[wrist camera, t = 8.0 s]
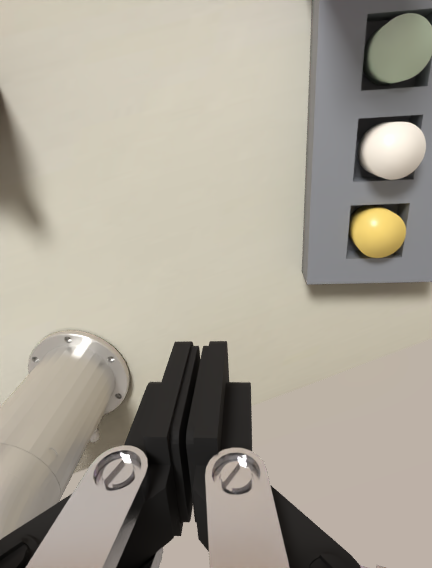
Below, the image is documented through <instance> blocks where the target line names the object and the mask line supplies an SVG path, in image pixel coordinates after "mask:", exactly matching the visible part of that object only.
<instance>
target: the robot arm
mask: <svg viewBox="0 0 432 568" xmlns="http://www.w3.org/2000/svg"><path fill="white" fill-rule="evenodd" d="M28 371H29V375H28V376H27V377H26V378H25V379H24V380H23V382H22V383H21V384H20V385H19V386H18V387H17V388H16V390H15V391H14V392H13V393H12V394H11V395H10V396H9V398H8V399H7V400H6V401H5V402H4V403H3V404H2V406H1V407H0V568H159V565H160V562H161V559H162V553H163V546H164V545H166V544H167V543H168V542H169V541H171V540H172V539H173V537H174V536H181V533H182V526H183V522H190V519H191V512H192V506H193V507H194V516H195V522H197V528H198V537H199V540H200V541H201V543H202V544H203V545H204V546H205V547H206V549H207V550H208V551H209V560H210V568H367V567H364V566H360V565H359V564H358V563H357V561H356V560H355V559H354V558H353V557H352V556H351V555H350V554H349V553H348V552H347V551H346V550H344V549H343V548H342V547H341V546H340V545H339V544H338V543H336V542H335V541H334V540H333V539H332V538H331V537H330V536H328V535H327V534H326V533H325V532H324V531H323V530H321V529H320V528H319V527H318V526H317V525H316V524H315V523H313V522H312V521H311V520H310V519H309V518H308V517H306V516H305V515H304V514H303V513H302V512H301V511H299V510H298V509H297V508H296V507H295V506H294V505H293V504H292V503H290V502H289V501H288V500H287V499H286V498H285V497H283V496H282V495H281V494H280V493H279V492H278V491H277V490H275V489H274V488H273V487H272V486H271V485H270V481H269V477H268V473H267V469H266V466H265V464H264V462H263V460H262V459H261V458H260V457H259V456H258V455H257V454H255V453H254V452H252V422H251V383H241V382H229V369H228V350H227V341H210V343H209V346H203V350H202V355H201V360H200V351H199V346H193V342H175V343H174V346H173V349H172V352H171V355H170V358H169V361H168V364H167V367H166V370H165V373H164V376H163V379H162V382H150V383H148V385H147V387H146V390H145V393H144V395H143V398H142V400H141V403H140V406H139V408H138V411H137V413H136V416H135V419H134V421H133V424H132V426H131V429H130V432H129V434H128V437H127V439H126V442H125V445H122V446H118V447H113V448H111V449H109V450H107V451H105V452H103V453H102V454H101V455H99V456H98V457H97V458H96V459H95V460H94V461H93V463H92V464H91V465H90V467H89V468H88V470H87V472H86V473H85V475H84V476H83V478H82V479H81V481H80V482H79V484H78V486H77V487H76V489H75V491H74V492H73V493H72V494H71V495H70V496H68V497H66V498H65V499H63V500H62V501H60V502H59V500H60V498H61V496H62V494H63V492H64V490H65V488H66V486H67V484H68V482H69V480H70V478H71V476H72V474H73V472H74V470H75V468H76V466H77V464H78V462H79V460H80V458H81V456H82V454H83V452H84V450H85V448H86V446H87V444H88V442H89V441H90V442H95V441H97V440H98V439H99V438H100V435H99V431H98V428H97V427H98V425H99V423H100V421H101V419H102V417H103V415H104V414H107V413H109V412H111V411H113V410H114V409H116V408H117V407H118V406H119V405H120V404H121V403H122V401H123V400H124V398H125V396H126V394H127V392H128V388H129V383H130V376H129V371H128V368H127V365H126V363H125V361H124V359H123V358H122V356H121V355H120V353H119V352H118V351H117V350H116V349H115V348H114V347H113V346H111V345H110V344H109V343H108V342H106V341H105V340H103V339H101V338H99V337H98V336H95V335H92V334H90V333H87V332H82V331H75V330H66V331H59V332H56V333H53V334H50V335H49V336H47V337H45V338H44V339H42V340H41V341H40V342H39V343H38V344H37V345H36V347H35V348H34V349H33V351H32V352H31V355H30V357H29V363H28ZM376 568H386V567H382V566H379V565H377V566H376Z"/></svg>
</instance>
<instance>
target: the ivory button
mask: <svg viewBox="0 0 432 568" xmlns="http://www.w3.org/2000/svg"><path fill="white" fill-rule="evenodd" d="M425 151H426V140H425V137H424V134H423V132H422V131H421V130H420V129H419V128H418V127H417V126H416V125H414V124H412V123H409V122H383V123H379V124H377V125H375V126H373V127H371V128H370V129H369V130H368V131H367V132H366V133H365V134H364V135H363V136H362V138H361V140H360V142H359V145H358V150H357V155H358V160H359V163H360V165H361V166H362V167H363V169H365V170H366V171H367V172H369V173H371V174H374V175H376V176H379V177H382V178H385V179H389V180H395V179H400V178H403V177H405V176H407V175H409V174H411V173H412V172H413V171H414V170H415V169H416V168H417V167H418V166H419V165H420V163H421V162H422V160H423V158H424V155H425Z"/></svg>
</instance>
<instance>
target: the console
mask: <svg viewBox="0 0 432 568" xmlns="http://www.w3.org/2000/svg"><path fill="white" fill-rule="evenodd" d="M407 13H414V14H419V15H421V16H423V17H424V18H426V19H427V20H428V21H429V23H430V24H431V26H432V0H312V19H311V45H310V71H309V98H308V124H307V151H306V177H305V204H304V230H303V257H302V273H303V275H304V278H305V281H306V283H307V284H348V283H395V282H432V56H431V58H430V60H429V62H428V63H427V65H426V66H425V67H424V69H423V70H422V71H421V72H419V73H418V74H417V75H416V76H414V77H412V78H410V79H407V80H404V81H400V82H397V83H394V84H390V85H377V84H375V83H373V82H371V81H370V80H369V79H368V78H367V77H366V76H365V74H364V72H363V60H364V48H365V44H366V42H367V41H368V39H369V38H370V37H371V35H372V34H373V33H375V32H376V31H377V30H378V29H380V28H381V27H382V26H384V25H385V24H387V23H388V22H389V21H391V20H392V19H394V18H395V17H397V16H399V15H402V14H407ZM383 122H409V123H412V124H414V125H416V126H417V127H418V128H419V129H420V130H421V131H422V132H423V134H424V137H425V140H426V151H425V155H424V158H423V160H422V162H421V163H420V165H419V166H418V167H417V168H416V169H415V170H414V171H413V172H412V173H411V174H409V175H407V176H405V177H403V178H400V179H395V180H389V179H385V178H382V177H379V176H376V175H374V174H371V173H369V172H367V171H366V170H365V169H363V167H362V166H361V165H360V163H359V160H358V155H357V150H358V145H359V142H360V140H361V138H362V136H363V135H364V134H365V133H366V132H367V131H368V130H369V129H370V128H371V127H373V126H375V125H377V124H379V123H383ZM376 204H377V205H381V206H383V207H385V208H386V209H388V210H390V211H391V212H393V213H395V214H396V215H398V216H399V217H400V218H401V219H402V220H403V222H404V224H405V227H406V236H405V239H404V242H403V244H402V245H401V247H400V248H399V249H398V250H397V251H396V252H394V253H393V254H391V255H389V256H386V257H383V258H372V257H369V256H366V255H365V254H363V253H362V252H361V251H360V250H359V249H358V247H357V246H356V245H355V244H354V243H353V242H352V241H351V240H350V238H349V236H348V231H349V220H350V217H351V215H352V214H353V213H354V212H355V211H356V210H357V209H359V208H360V207H362V206H365V205H376Z"/></svg>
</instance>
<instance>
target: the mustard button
mask: <svg viewBox="0 0 432 568" xmlns="http://www.w3.org/2000/svg"><path fill="white" fill-rule="evenodd" d="M348 236H349V238H350V240H351V241H352V242H353V243H354V244H355V245H356V246H357V247H358V249H359V250H360V251H361V252H362V253H363V254H365V255H366V256H369V257H372V258H383V257H386V256H389V255H391V254H393V253H394V252H396V251H397V250H398V249H399V248H400V247H401V245H402V244H403V242H404V239H405V236H406V227H405V224H404V222H403V220H402V219H401V218H400V217H399V216H398V215H396V214H395V213H393V212H391V211H390V210H388V209H386V208H385V207H383V206H381V205H377V204H376V205H365V206H362V207H360V208H359V209H357V210H356V211H355V212H354V213H353V214H352V215H351V217H350V220H349V231H348Z"/></svg>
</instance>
